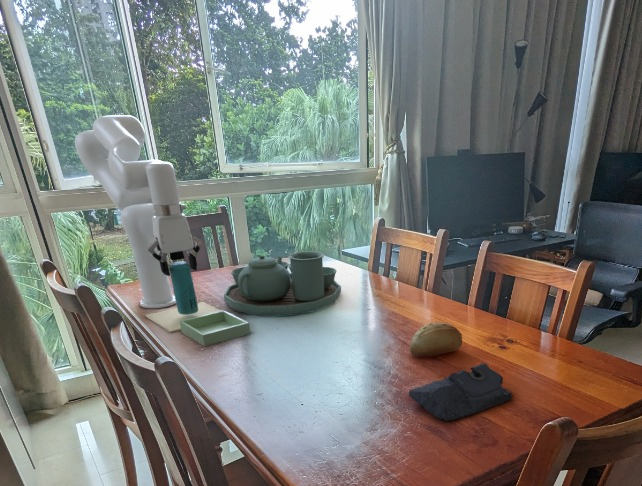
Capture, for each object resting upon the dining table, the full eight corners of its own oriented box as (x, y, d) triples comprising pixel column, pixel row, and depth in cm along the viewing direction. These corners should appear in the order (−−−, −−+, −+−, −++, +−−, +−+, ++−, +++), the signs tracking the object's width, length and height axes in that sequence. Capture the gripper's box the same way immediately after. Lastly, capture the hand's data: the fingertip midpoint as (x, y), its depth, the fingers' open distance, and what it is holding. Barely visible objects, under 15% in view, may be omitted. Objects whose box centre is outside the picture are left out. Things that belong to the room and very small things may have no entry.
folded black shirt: (398, 397, 114) (398, 378, 111) (470, 373, 124) (472, 354, 121) (443, 426, 102) (445, 406, 100) (519, 397, 113) (522, 377, 110)
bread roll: (470, 354, 133) (473, 325, 129) (420, 365, 128) (422, 335, 124) (450, 342, 141) (453, 314, 136) (402, 351, 136) (403, 322, 131)
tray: (181, 331, 152) (179, 321, 150) (225, 320, 160) (223, 310, 158) (204, 346, 142) (202, 335, 140) (250, 333, 150) (249, 322, 148)
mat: (145, 316, 165) (145, 315, 164) (203, 303, 175) (202, 301, 175) (171, 333, 151) (170, 331, 151) (231, 317, 162) (230, 315, 162)
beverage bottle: (194, 319, 159) (181, 254, 149) (174, 318, 160) (160, 253, 150) (203, 313, 165) (191, 249, 154) (184, 312, 166) (171, 248, 155)
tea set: (349, 284, 192) (348, 238, 183) (325, 320, 158) (322, 265, 150) (249, 281, 198) (243, 237, 189) (205, 315, 164) (196, 263, 156)
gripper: (190, 205, 153) (201, 264, 162) (133, 212, 144) (147, 275, 153) (202, 208, 148) (212, 269, 158) (143, 215, 139) (157, 280, 148)
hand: (180, 271), depth 155 cm, fingers open, 8 cm apart
